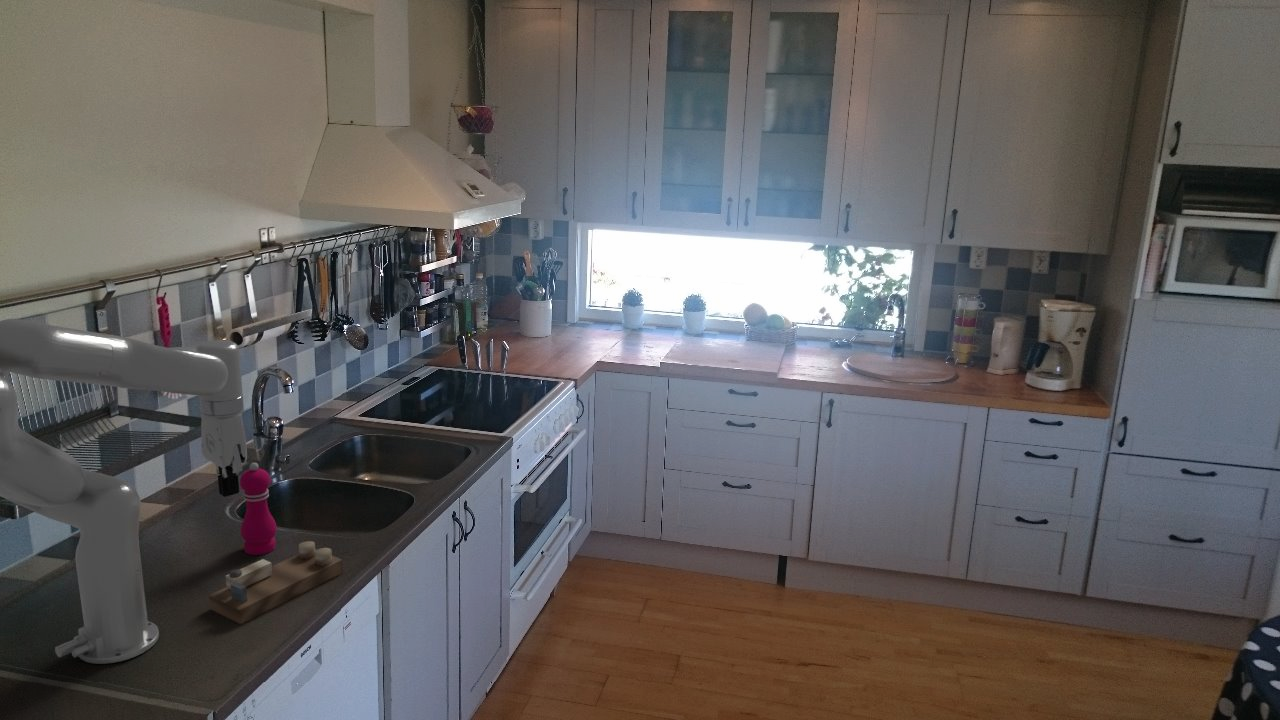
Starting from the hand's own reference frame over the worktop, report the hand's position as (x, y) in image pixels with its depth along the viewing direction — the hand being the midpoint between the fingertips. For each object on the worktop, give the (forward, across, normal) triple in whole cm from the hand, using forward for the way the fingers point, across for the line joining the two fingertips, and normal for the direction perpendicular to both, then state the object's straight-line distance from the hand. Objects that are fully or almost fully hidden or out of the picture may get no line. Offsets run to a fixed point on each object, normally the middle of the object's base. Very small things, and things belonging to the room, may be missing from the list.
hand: (229, 493), depth 176 cm
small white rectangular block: (+16, +8, -1) cm, 18 cm away
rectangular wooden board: (+19, +9, +4) cm, 22 cm away
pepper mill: (+19, -10, +10) cm, 24 cm away
